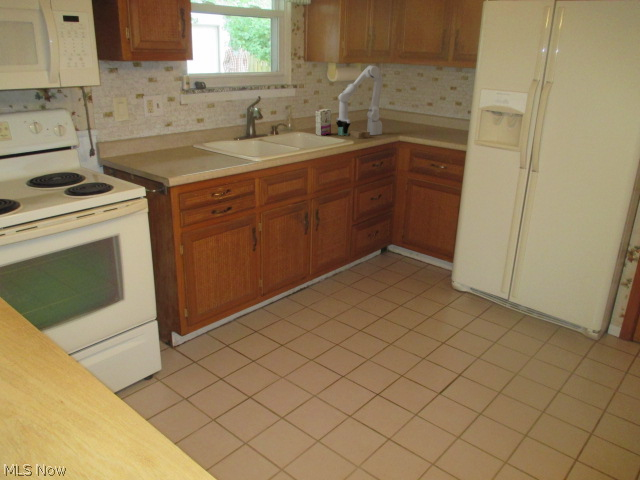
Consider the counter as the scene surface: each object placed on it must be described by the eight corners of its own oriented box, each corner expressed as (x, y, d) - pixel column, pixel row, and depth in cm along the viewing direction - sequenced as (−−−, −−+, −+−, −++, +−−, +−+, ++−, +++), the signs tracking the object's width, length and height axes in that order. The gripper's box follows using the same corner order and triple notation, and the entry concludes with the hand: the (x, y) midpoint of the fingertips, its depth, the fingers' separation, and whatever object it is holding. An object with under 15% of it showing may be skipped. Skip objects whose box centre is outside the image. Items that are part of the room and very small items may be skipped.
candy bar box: (325, 133, 362) (325, 108, 356) (331, 134, 359) (331, 109, 353) (315, 135, 354) (315, 110, 348) (321, 136, 351) (321, 110, 345)
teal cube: (344, 134, 360) (344, 126, 358) (348, 135, 356) (348, 127, 354) (337, 134, 357) (337, 127, 356) (341, 135, 353) (342, 128, 352)
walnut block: (361, 136, 355) (361, 130, 353) (369, 138, 348) (369, 131, 346) (350, 137, 350) (350, 131, 349) (358, 139, 343) (358, 133, 342)
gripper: (332, 111, 355) (332, 131, 360) (344, 113, 344) (343, 134, 348) (341, 110, 359) (341, 131, 363) (353, 113, 347) (352, 134, 352)
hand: (343, 132), depth 356 cm, fingers closed on teal cube, 5 cm apart
